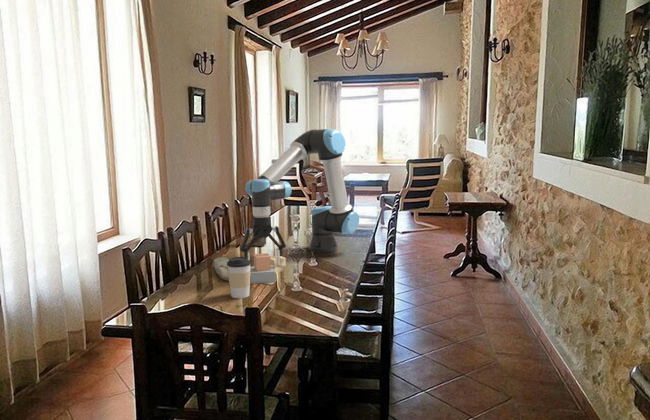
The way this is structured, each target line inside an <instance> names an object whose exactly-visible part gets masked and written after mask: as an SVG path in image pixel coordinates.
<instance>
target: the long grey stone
mask: <svg viewBox="0 0 650 420" xmlns="http://www.w3.org/2000/svg"><path fill="white" fill-rule="evenodd" d="M229 260H230V258H228V257H226V256H219V257H216V258H214V259H213V261H212V265H213V266H212V267H213V268H214V271H215V272H216V275H218V276H219V277H220V279H221V280H223V281H229V276H228V266H227V262H228V261H229Z"/></svg>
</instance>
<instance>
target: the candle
mask: <svg viewBox="0 0 650 420" xmlns="http://www.w3.org/2000/svg"><path fill="white" fill-rule="evenodd" d="M253 217H254V216H253V215H252V218H253ZM253 236H254V232H253V231H252V237H253ZM264 245H267V238H257V240H256V241H255V242H254V244H253V245H252V246H255V247H262V246H264Z"/></svg>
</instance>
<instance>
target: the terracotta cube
mask: <svg viewBox="0 0 650 420" xmlns="http://www.w3.org/2000/svg"><path fill="white" fill-rule="evenodd" d="M270 257H271V255H270V253H268V252H264V253H254V254H253V263H254V264H253V266H254V268H255V269H256V271H266V270H271V260H270Z"/></svg>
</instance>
